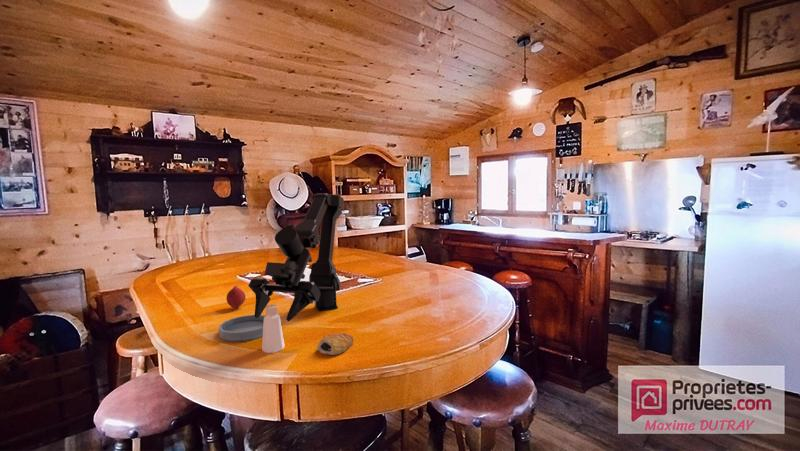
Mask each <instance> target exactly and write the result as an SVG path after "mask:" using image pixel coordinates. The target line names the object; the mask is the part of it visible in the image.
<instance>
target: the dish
mask: <svg viewBox="0 0 800 451" xmlns="http://www.w3.org/2000/svg"><path fill="white" fill-rule="evenodd" d="M265 316H266V315H265V314H264V315H263V314H261V315H260V316H259V317H258V318H255V314H247V315H242V316H237V317H233V318H230V319H228V320H225V321H223V322H222V323H220V325H219V328H218V333H219V335H218V336H219V339H221V340H222V341H225V342H232V343H238V342H239V343H241V342H242V341H243V342H248V341H249V340H250V341H253V340H258V339H261V338H263V323H264V317H265ZM250 341H249V342H250Z"/></svg>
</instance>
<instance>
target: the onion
mask: <svg viewBox="0 0 800 451" xmlns="http://www.w3.org/2000/svg"><path fill="white" fill-rule="evenodd" d="M225 300H226V303H227V304H228V306H230V307H231V308H234V309H239V308H240V307H241V306H242V305H243V304H244V302H245V301H246V294H245V292H244V291H243V289H241V288H239V286H238V285H236V284H235V285H233V287H232V288H230V290H229V291H228V292H227V294H226V299H225Z"/></svg>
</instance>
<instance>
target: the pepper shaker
mask: <svg viewBox="0 0 800 451" xmlns="http://www.w3.org/2000/svg"><path fill="white" fill-rule="evenodd" d="M264 310H265V313H266V316H265V317H264V323H263V337H262V344H261V351H262V352H264V353H266V354H272V353H273V354H274V353H275V354H276V353H277V352H280V351H283V349H284V348H285V346H286V345H285V341H284V334H283V328H282V323H281V322H282V321H281V316H280V314H278V305H276V304H267V306H266V307H265V309H264Z"/></svg>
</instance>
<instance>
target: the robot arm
mask: <svg viewBox="0 0 800 451" xmlns="http://www.w3.org/2000/svg"><path fill="white" fill-rule="evenodd" d="M344 206H345V199H344V198H343V197H342V196H341V195H340V194H339V193H338V194H335V193H334V194H330V193H327V192H326V193H319V192H317V193H316V194H313V197H312V201H311V204H310V205H309V208H308V210H307V212H306V214H305V217H304V219H303V221H301V222H300V223H298V224H296V226H295V225H294V224H286V226H285V228H282V229H280V230H279V231H277V233H275V235H274V241H275V243H276V244H277V246H278V248H279V249H280V251H281V253H282V254H283V255H284V256H285V257H286V260H284V261H285V262H284V263H282V262H272V261H271V262H266V266H265V270H264V274H263V275H264V276H269V277H271V281H272V282H274V284H273V283H270V281H268V279H267V278H265V277H264V278H262V277H261V278H260V277H253V278H251V279H250V281H249V283H248V286H247V287H249V288H250V289H251V291H252V292H253V293H254V294H255V306H254V315H255V318H258V317H259V316H260V315H262V314H263V311H265V310H266V309H265V307H266V306H268V305H269V302H270V301H271V296H272V295H273V294H274V293H286V294H287V293H288V294H294V297H293V300H292V303H291V305H290V307H289V310H288V312H287V315H286V319H285V320H286V321H287V322H291V321H292V320H293V318H295V317H296V316H297V315H298V314H299V313H300V312H301V311H303V310H304V309H305V308H307V307H308V306H309V305H311V304H313V303H314V306H315V309H317V311H318V312H319V311H327V310H334V309H336V310H337V309H338V308H339V307H338V305H337V291H340V290H341V280H340V279H339V276H338V274H337V268H336V266H335V264H334V263H333V258H334V257H333V256H334V255H333V254H334V244H335V236H336V235H335V234H336V224H337V220H338V219H339V217H340V216H341V215H342V211H343V208H344ZM319 227H321V228H319ZM319 229H320V233H319ZM318 245H319V246H318ZM317 246H318V254H317V255H318V257H317V259H316V261H315V262H313V263H312V260H313V259H312V255H311V252H310V251H309V250H308V249H316V248H317ZM308 263H311V265H310V266H311V267H310V273H309V277H308V280H309V281H307V280H304V279H305V278H306V275H305V270H306V267H307V265H308Z"/></svg>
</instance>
